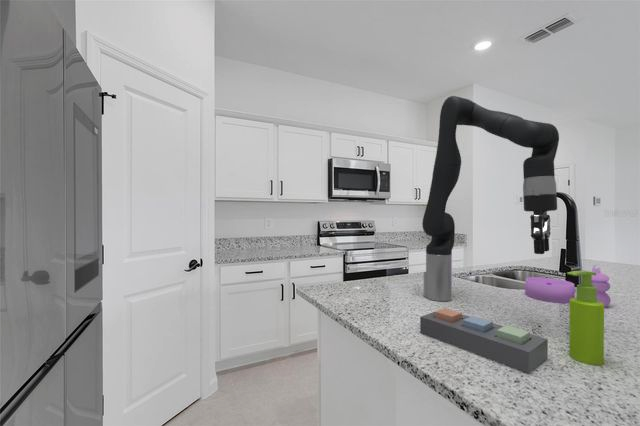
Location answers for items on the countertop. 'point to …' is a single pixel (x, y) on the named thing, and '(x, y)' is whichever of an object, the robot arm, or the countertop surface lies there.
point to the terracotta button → (448, 315)
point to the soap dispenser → (586, 322)
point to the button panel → (487, 343)
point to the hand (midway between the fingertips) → (541, 252)
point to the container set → (564, 289)
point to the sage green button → (513, 335)
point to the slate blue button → (478, 324)
